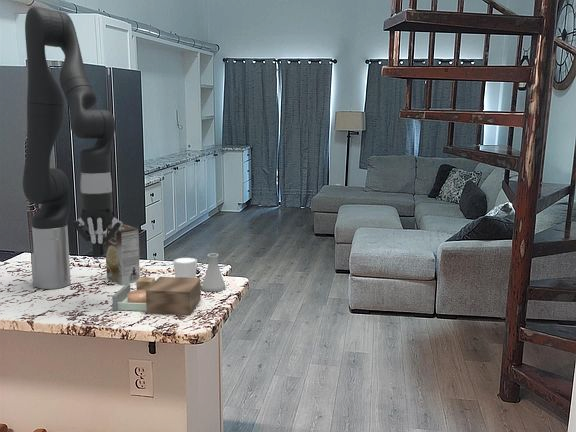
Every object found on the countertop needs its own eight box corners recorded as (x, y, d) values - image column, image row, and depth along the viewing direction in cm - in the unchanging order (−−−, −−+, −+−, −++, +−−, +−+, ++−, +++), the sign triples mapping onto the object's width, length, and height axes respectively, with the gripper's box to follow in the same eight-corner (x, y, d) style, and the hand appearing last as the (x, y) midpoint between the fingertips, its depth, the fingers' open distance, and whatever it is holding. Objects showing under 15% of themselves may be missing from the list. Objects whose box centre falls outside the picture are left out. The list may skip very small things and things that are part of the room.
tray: (112, 310, 145) (112, 296, 144) (127, 297, 155) (126, 283, 154) (155, 312, 144) (155, 297, 143) (167, 298, 154) (166, 285, 153)
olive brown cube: (136, 293, 158) (136, 281, 158) (141, 289, 162) (140, 277, 162) (150, 294, 158) (150, 281, 158) (155, 289, 162) (154, 277, 162)
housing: (146, 313, 143) (145, 290, 142) (160, 297, 155) (159, 276, 154) (190, 315, 143) (189, 292, 142) (200, 299, 154) (200, 278, 153)
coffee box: (105, 278, 172) (103, 226, 169) (124, 274, 176) (122, 223, 173) (122, 285, 165) (120, 231, 162) (141, 281, 170) (139, 227, 167)
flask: (221, 293, 160) (221, 258, 158) (196, 291, 161) (196, 256, 159) (229, 285, 167) (229, 252, 165) (205, 284, 168) (205, 250, 166)
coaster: (124, 304, 146) (123, 297, 146) (132, 296, 152) (131, 289, 152) (149, 305, 146) (148, 298, 146) (156, 297, 152) (155, 290, 152)
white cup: (175, 279, 172) (174, 257, 170) (198, 279, 172) (198, 257, 171) (172, 286, 165) (171, 263, 164) (196, 286, 166) (196, 263, 164)
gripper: (127, 188, 148) (129, 254, 151) (77, 187, 149) (80, 252, 152) (116, 192, 141) (119, 261, 144) (64, 191, 141) (68, 260, 145)
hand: (99, 256), depth 148 cm, fingers closed
